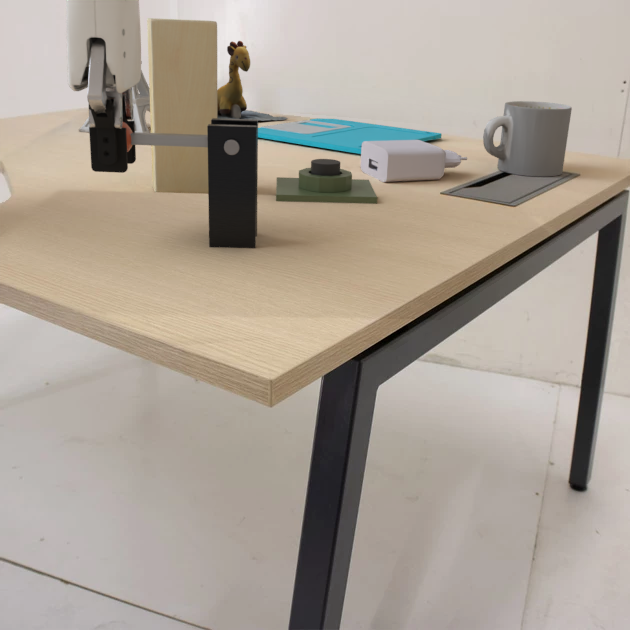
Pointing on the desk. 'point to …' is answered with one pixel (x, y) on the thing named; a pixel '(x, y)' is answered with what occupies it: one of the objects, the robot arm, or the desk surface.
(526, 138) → the coffee mug
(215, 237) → the bracket
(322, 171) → the button
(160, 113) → the tall wooden block
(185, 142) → the lever
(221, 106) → the stuffed giraffe
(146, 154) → the desk surface
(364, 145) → the charger
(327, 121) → the diskette
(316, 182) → the control block
